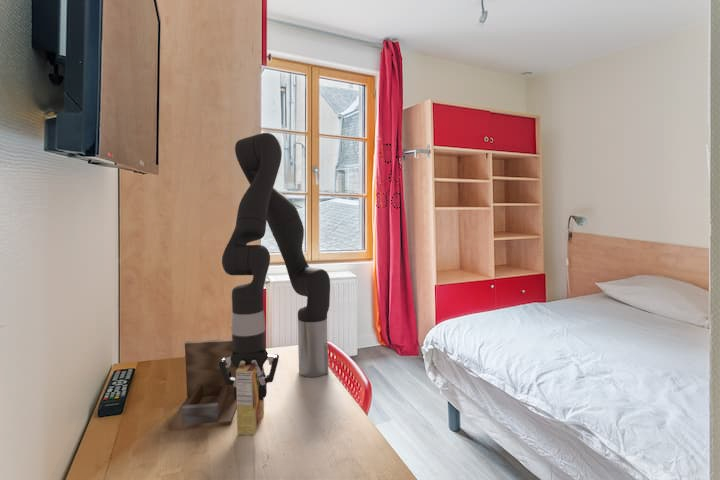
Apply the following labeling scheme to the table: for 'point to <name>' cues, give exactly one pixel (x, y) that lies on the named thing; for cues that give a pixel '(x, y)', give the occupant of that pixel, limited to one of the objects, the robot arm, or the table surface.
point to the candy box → (248, 400)
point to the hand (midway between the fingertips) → (250, 399)
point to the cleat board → (206, 387)
